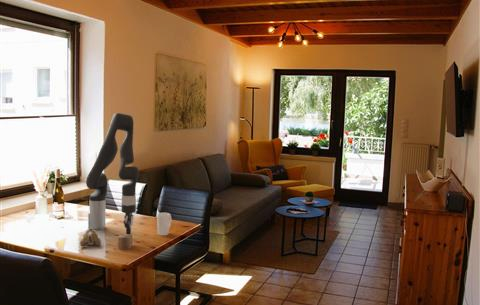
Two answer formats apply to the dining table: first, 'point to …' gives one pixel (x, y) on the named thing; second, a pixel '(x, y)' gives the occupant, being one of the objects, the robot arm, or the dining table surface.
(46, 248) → the dining table surface
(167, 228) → the mug
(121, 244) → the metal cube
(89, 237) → the ceramic sculpture
